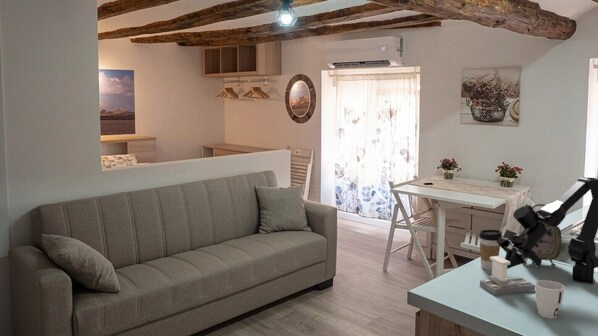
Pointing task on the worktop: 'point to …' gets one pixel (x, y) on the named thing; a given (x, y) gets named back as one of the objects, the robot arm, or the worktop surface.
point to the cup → (548, 298)
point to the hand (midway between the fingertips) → (502, 269)
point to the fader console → (508, 286)
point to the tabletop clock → (547, 243)
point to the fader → (499, 270)
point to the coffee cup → (489, 247)
